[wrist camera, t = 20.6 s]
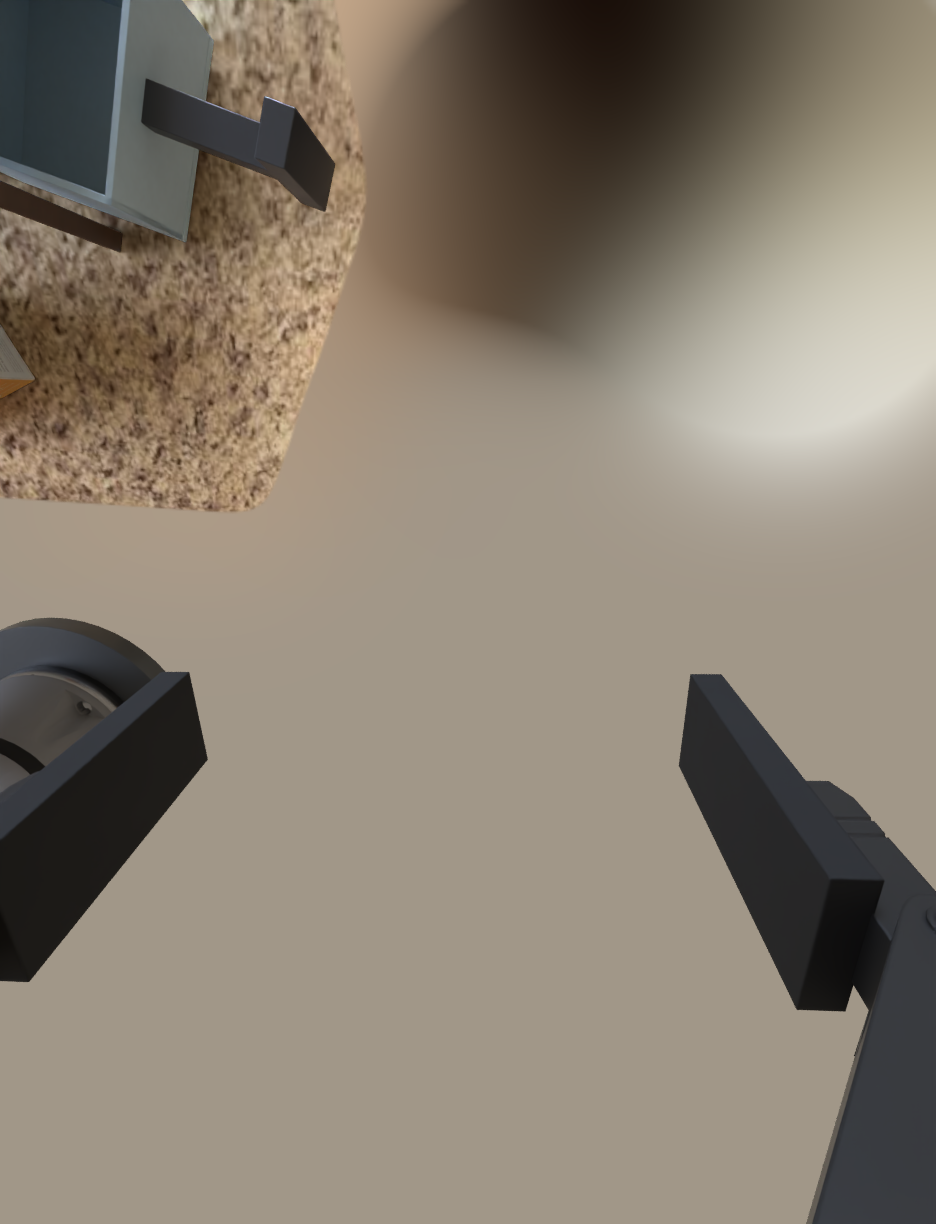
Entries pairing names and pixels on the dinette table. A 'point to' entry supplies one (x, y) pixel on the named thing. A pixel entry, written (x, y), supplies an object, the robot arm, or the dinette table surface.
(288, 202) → the dinette table surface
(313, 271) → the dinette table surface
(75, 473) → the dinette table surface
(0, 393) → the small box
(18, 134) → the drawer
